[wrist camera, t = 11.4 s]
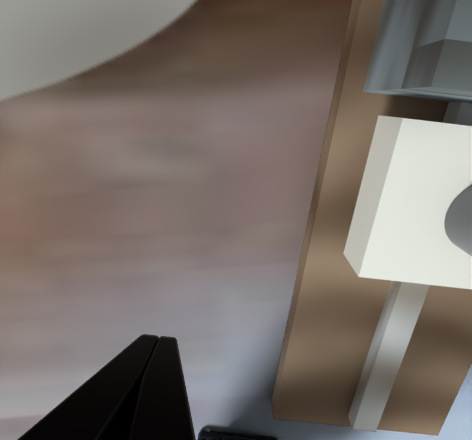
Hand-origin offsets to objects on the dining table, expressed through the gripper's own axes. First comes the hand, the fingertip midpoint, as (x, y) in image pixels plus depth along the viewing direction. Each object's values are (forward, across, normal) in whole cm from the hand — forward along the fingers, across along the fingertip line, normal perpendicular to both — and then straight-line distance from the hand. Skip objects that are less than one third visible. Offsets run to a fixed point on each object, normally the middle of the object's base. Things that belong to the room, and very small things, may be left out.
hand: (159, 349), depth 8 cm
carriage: (+9, -12, -3) cm, 15 cm away
